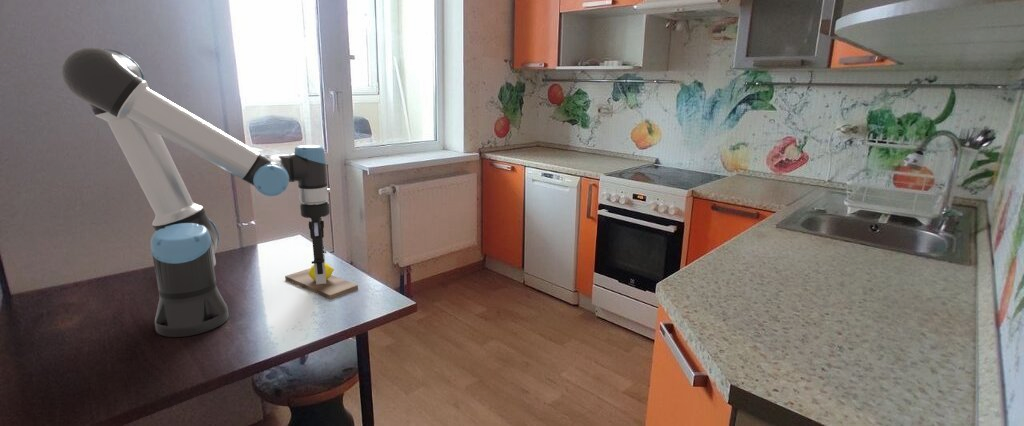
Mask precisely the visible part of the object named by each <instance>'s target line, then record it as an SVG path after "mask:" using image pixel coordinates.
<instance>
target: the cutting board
mask: <svg viewBox="0 0 1024 426" xmlns="http://www.w3.org/2000/svg"><path fill="white" fill-rule="evenodd" d="M310 269H311V267H310V268H307V269H303V270H300V271H297V272H293V273H291V274H287V275H285V276H284V278H285V279H284V280H285V281H287V282H290V283H291V284H295V285H296V286H299V287H301V288H304V289H306V290H308V291H311V292H313V293H314V294H317V295H319V296H322V297H324V298H326V299H328V300H333V299H335V298H338V297H340V296H343V295H346V294H349V293H351V292H354V291H357V290H359V287H358V286H359V284H356V283H353V282H351V281H348V280H345V279H343V278H341V277H338V276H336V275H332V274H331V276H330V277H329V278H328V279H327V280H326V284H318V285H316V281H315V280H313V279H312V278H311V277H310V276H309V274H308V273H309V270H310Z"/></svg>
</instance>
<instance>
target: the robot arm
mask: <svg viewBox="0 0 1024 426" xmlns="http://www.w3.org/2000/svg"><path fill="white" fill-rule="evenodd" d="M61 77H62V81H63V83H64V85H65V86H66V88H67V90H69V92H71V93H72V94H73V95H74V96H75V97H77V98H78V99H80V100H82V101H84V102H85V103H88V104H89V106H90V108H91V110H92V112H93V113H94V114H93V115H94V116H95V117H97V118H99V119H101V120H103V121H105V122H106V123H107V125H108V126H109V127H110V129H111V133H112V134H113V136H114V137H115V139H116V142H117V143H118V145H119V147H120V149H121V151H122V153H123V155H124V157H125V159H126V160H127V162H128V164H129V166H130V169H131V170H132V173H133V174H134V176H135V178H136V180H137V182H138V184H139V186H140V188H141V190H142V191H143V193H144V195H145V197H146V200H147V201H148V203H149V205H150V207H151V209H152V211H153V212H154V213H153V214H154V219H153V221H152V223H151V224H152V227H153V228H154V231H155V232H154V233H152V235H151V237H150V248H149V249H150V252H151V255H152V260H153V266H154V271H155V278H156V279H155V280H156V284H157V291H158V295H159V296H158V297H159V300H158V304H157V309H156V313H155V318H154V326H155V327H154V328H155V332H156V333H157V335H160V336H163V337H166V338H182V337H184V338H185V337H190V336H195V335H200V334H203V333H206V332H209V331H211V330H212V331H213V330H215V329H216V328H218V327H220V326H222V325H223V324H225V323H226V322H227V321H228V319H229V317H230V316H229V309H228V305H227V303H226V302H225V300H224V298H223V295H222V294H221V292H220V290H219V289H218V286H217V280H216V272H215V267H214V263H213V257H214V254H216V250H217V248H218V246H219V241H220V233H219V230H218V228H217V226H216V224H215V223H214V222H213V221H212V220H211V219H210V218H209V217H208V214H207V213H206V210H205V208H204V206H203V205H201V204H199V203H195V202H194V201H193V199H192V196H191V195H190V193H189V191H188V188H187V186H186V184H185V182H184V180H183V178H182V176H181V174H180V172H179V170H178V168H177V166H176V164H175V162H174V159H173V158H172V155H171V153H170V151H169V149H168V147H167V146H166V143H165V141H164V138H165V139H167V140H168V141H171V142H173V143H174V144H176V145H178V146H180V147H182V148H184V149H185V150H187V151H188V152H191V153H193V154H195V155H197V156H198V157H200V158H201V159H204V160H206V161H207V162H209V163H212V164H213V165H215V166H217V167H219V168H220V169H223V170H224V171H226V172H228V173H230V174H231V175H234V176H235V177H237V178H239V179H241V180H243V181H244V182H246V183H248V184H249V185H251V186H253V187H255V189H256V191H258V192H259V193H260V194H262V195H264V196H267V197H275V196H279V195H281V194H282V193H284V192H285V191H286V190H287V188H288V186H289V183H294V182H297V184H298V186H297V187H298V188H297V189H298V197H299V198H298V200H299V202H301V203H299V209H300V215H301V217H303V218H307V219H311V220H309V221H308V229H309V233H310V239H311V241H312V251H313V261H311V264H313V265H314V266H315V277H316V285H318V284H326V273H325V263H326V257H325V254H327V249H324V248H325V246H324V239H323V238H324V236H325V235H324V234H325V230H324V228H325V220H324V219H322V218H324V217H327V216H329V214H330V202H329V201H328V200H329V193H330V192H331V189H330V188H328V178H327V177H328V175H327V174H328V173H327V162H326V155H325V153H326V152H325V149H324V148H323V146H321V145H317V144H305V145H302V144H301V145H297V146H295V148H294V153H291V154H290V153H289V154H288V153H287V154H262V153H260V151H257V150H255V149H254V148H252V147H250V146H249V145H247V144H245V143H243V142H242V141H240V140H238V139H237V138H235V137H233V136H231V135H229V134H228V133H226V132H225V131H223V130H222V129H220V128H217V127H216V126H215V125H213V124H211V123H210V122H207V121H206V120H204V119H202V118H201V117H199V116H197V115H196V114H194V113H192V112H190V111H188V110H187V109H185V108H183V107H181V106H180V105H178V104H176V103H174V102H173V101H171V100H169V99H167V98H166V97H164V96H163V95H162V94H159V93H158V92H156V91H154V90H152V89H150V87H149V84H148V82H147V81H146V80H145V76H144V71H142V68H141V67H140V66H139V64H138V63H137V62H136V61H135V60H134V59H133V58H131V57H130V56H128V55H126V53H123V52H120V51H118V50H113V49H110V48H109V49H108V48H104V49H103V48H98V47H85V48H81V49H77V50H75V51H73V52H71V53H70V54H69V55H68V56H67V57H66V58H65V59H64V61H63V64H62V66H61Z"/></svg>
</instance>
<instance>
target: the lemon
mask: <svg viewBox="0 0 1024 426" xmlns="http://www.w3.org/2000/svg"><path fill="white" fill-rule="evenodd" d="M310 268H311V269H310V270H309V273H308V274H309V276H310V277H311V278H312V279H313V280H315V281H316V277H315V266H314V264H313V265H312V266H311V267H310ZM334 270H335V269H334V268H333V267H332V266H331V265H330V264H328V263H326V262H325V273H326V280H327V279H328V278H329V277H330V276H331V275H332V274H333V272H334Z"/></svg>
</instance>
